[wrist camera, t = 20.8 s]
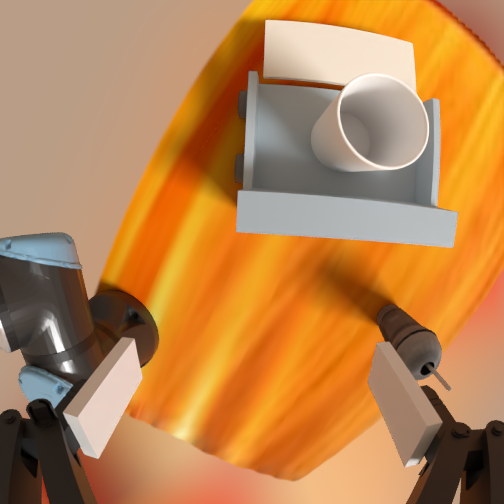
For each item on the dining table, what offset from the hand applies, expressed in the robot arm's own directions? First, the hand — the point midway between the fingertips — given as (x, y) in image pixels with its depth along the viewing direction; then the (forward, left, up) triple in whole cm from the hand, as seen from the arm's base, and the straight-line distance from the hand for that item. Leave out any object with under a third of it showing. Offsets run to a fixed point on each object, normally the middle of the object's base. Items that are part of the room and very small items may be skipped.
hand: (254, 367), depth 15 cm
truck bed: (+9, +13, -30) cm, 34 cm away
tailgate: (+9, +23, -25) cm, 35 cm away
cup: (+9, +15, -26) cm, 31 cm away
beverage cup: (+21, -11, -30) cm, 38 cm away
